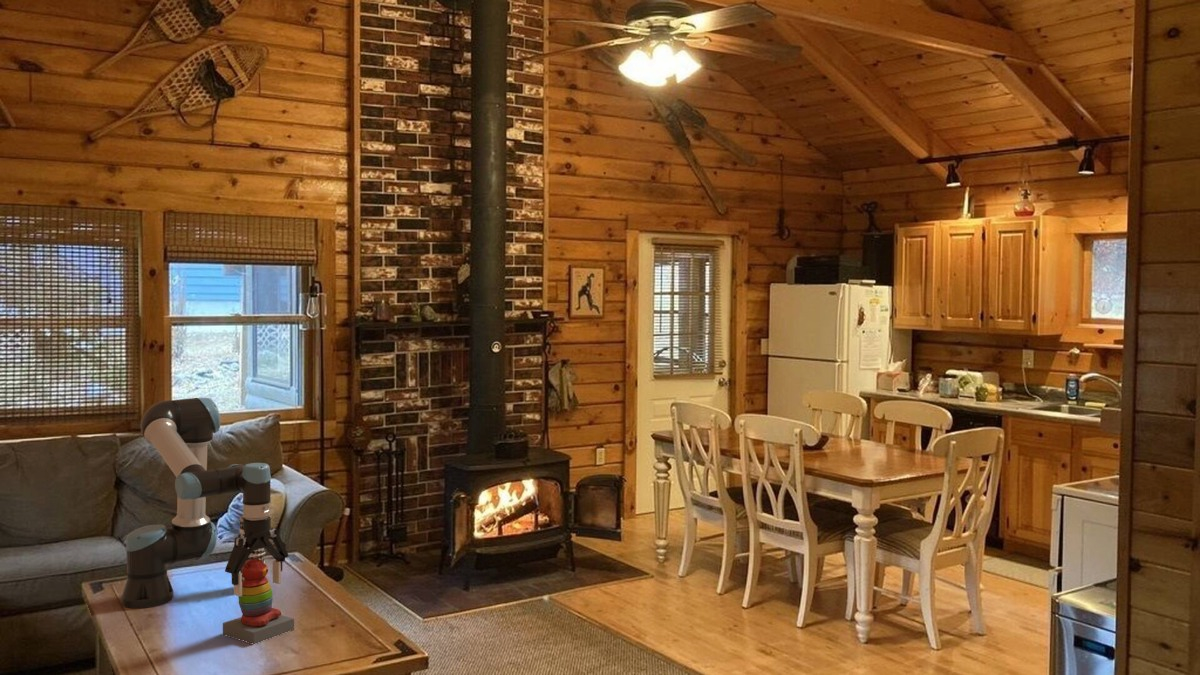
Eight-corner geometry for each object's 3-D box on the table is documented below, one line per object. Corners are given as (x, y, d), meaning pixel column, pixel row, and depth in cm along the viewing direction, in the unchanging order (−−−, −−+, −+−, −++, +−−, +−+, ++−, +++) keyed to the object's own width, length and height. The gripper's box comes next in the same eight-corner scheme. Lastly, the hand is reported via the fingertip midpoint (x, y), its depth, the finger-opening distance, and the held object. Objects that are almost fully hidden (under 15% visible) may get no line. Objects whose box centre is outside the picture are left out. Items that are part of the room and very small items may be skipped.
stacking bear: (262, 626, 280) (258, 565, 278) (232, 625, 282) (227, 564, 281) (284, 613, 290) (279, 554, 289) (254, 612, 293) (249, 553, 291)
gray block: (222, 636, 284) (222, 623, 284) (263, 622, 296) (263, 609, 295) (254, 646, 276) (253, 632, 276) (294, 632, 288) (294, 618, 288)
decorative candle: (273, 586, 329) (272, 513, 327) (250, 594, 321) (249, 518, 319) (255, 582, 334) (254, 509, 332) (232, 589, 326) (231, 514, 324)
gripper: (228, 528, 272) (229, 603, 273) (300, 510, 293) (300, 580, 294) (211, 524, 276) (212, 598, 277) (283, 507, 297) (283, 576, 298)
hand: (257, 589), depth 285 cm, fingers open, 13 cm apart
